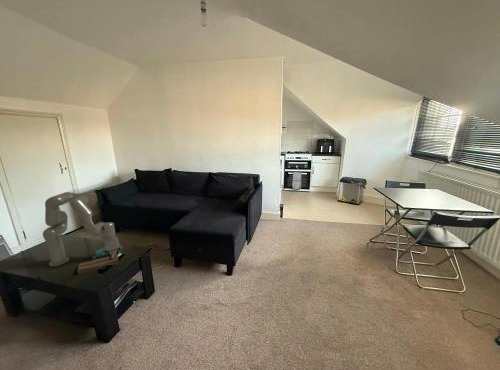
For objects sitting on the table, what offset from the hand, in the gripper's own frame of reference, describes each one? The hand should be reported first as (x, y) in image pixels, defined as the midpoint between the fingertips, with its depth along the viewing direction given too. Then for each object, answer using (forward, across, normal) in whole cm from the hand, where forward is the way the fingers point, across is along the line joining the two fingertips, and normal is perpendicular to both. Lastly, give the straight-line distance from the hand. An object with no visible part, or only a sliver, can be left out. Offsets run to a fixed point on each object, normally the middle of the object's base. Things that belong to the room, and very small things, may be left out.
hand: (113, 255), depth 183 cm
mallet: (+1, 0, -5) cm, 5 cm away
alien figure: (+2, -4, +13) cm, 14 cm away
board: (+1, -10, -8) cm, 13 cm away
